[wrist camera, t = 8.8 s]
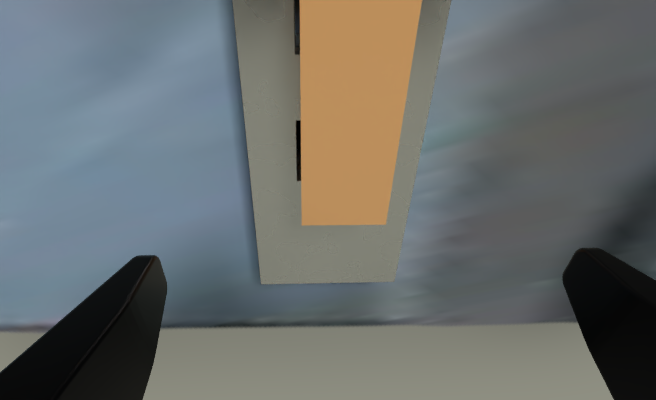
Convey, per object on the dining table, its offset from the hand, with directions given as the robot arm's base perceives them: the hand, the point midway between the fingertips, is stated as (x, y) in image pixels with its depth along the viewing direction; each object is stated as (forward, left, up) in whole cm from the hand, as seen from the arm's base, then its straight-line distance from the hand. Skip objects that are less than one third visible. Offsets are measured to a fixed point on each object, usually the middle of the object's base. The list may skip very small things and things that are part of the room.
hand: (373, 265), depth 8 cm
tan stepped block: (0, 0, -13) cm, 13 cm away
